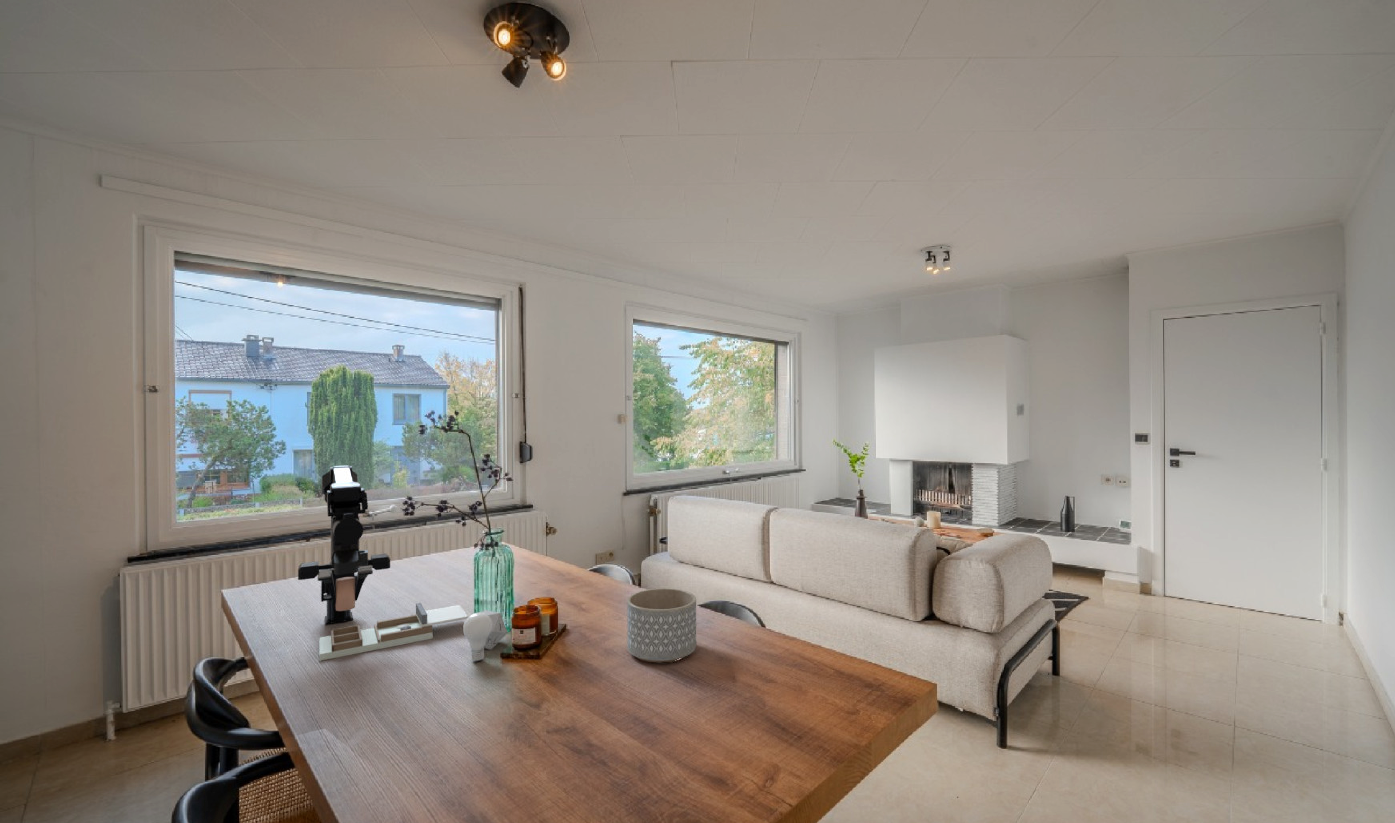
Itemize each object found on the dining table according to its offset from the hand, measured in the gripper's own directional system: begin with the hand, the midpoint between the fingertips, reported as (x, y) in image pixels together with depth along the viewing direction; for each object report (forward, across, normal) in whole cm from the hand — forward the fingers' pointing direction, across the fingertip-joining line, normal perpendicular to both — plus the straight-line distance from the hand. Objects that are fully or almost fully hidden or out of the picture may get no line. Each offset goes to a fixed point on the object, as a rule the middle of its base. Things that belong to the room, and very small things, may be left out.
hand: (345, 601), depth 138 cm
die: (+12, +29, -16) cm, 35 cm away
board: (+12, +7, +3) cm, 14 cm away
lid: (+8, +22, +3) cm, 24 cm away
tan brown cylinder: (+2, 0, 0) cm, 2 cm away
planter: (+12, +64, -42) cm, 77 cm away
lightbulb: (+12, +26, -24) cm, 37 cm away
